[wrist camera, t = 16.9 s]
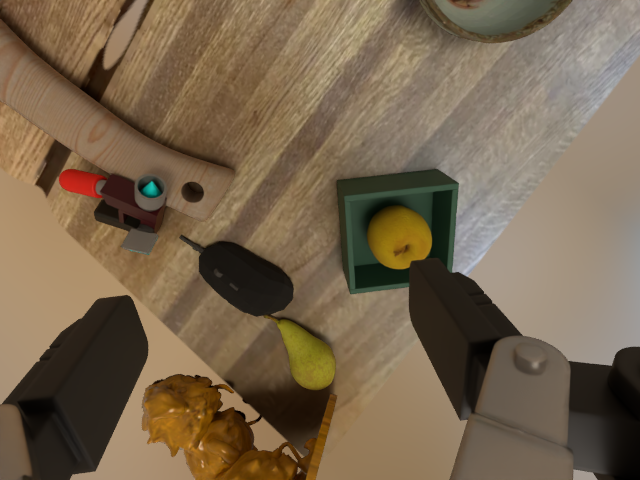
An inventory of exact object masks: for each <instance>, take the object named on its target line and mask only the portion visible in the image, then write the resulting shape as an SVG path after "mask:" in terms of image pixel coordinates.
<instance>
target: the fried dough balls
mask: <svg viewBox="0 0 640 480" xmlns="http://www.w3.org/2000/svg"><path fill="white" fill-rule="evenodd" d="M211 384H212V381H211V380H210V379H209V378H208V377H201V376H199V375H195V376H194V377H193V376H190V375H186V376H185V375H183V374H176V375H173V376H170V377H168V378H166V379H165V380H164V379H161V380H157V381H155V382H154V383H153V384H152V385H149V387H147V388H146V390H145V393H144V397H143V400H142V408H143V411H144V414H143V417H142V430H143V431H146V430H148V432H149V435H150V438H149V440H148V442H147V443H148V444H150V443H152V442H153V443H156V442H162V443H164V444H166V445H167V446H168V448H169V449H170V451H171V456H172V457H173V456H175V455H176V454H177V452H178V450H179V449H180V450H184V454H185V457H186V462H187V465H188V467H189V469H190V471H191V473H192V475H193V477H194V479H195V480H315V479H316V476H317V472H318V468H319V464H320V461H321V457H322V453H323V449H324V446H325V442H326V438H327V434H328V430H329V427H330V423H331V419H332V415H333V411H334V407H335V403H336V399H337V395H334V394H330V397H329V400H328V403H327V407H326V410H325V414H324V417H323V421H322V424H321V428H320V431H319V435H318V438H312V439H309V440H308V441H306V443H305V445H304V448H306V449H308V450H309V454H308V455H307V456H305V457H304V458H301V457H300V456H299V454H298V453H297V451H296V450H295V448H294V447H293V445H292V444H290V443H289V442H285V443H283V444H282V445H281V446H280V447H279V448H277V449H276V450H274V451H273V452H270V451H265V450H262V451H258V449H257V448H256V447H255V446H254V445H253V443H254V435H253V432H252V429H251V428H250V425H252V424H255V423H257V422H259V421H260V419H261V418H262V417H261V416H259V417H258V419H256V420H254V421H251V422H248V423H247V422H245V420H246V416H245V414H244V413H243V412H241V411H238V410H234V407H232V408H229V409H227V410H225V411H222V412H221V411H218V410H219V409H220V408H221V406H222V405H223V403H222V402H221V401H220V398H221V393H220V392H218V389H225V390H227V391H229V392H230V393H234V391H233V390H231V389H230V388H229V387H228V386H227V385H225V384H219V385H215V386H213V385H211ZM242 401H243V402H244V403H246V404H248V403H247V402H246V401H245V400H243V399H242ZM286 446H288V447H289V448H290V450H291V451H292V453H293V454H294V456H295V457H296V459H297V460H298V462H296V461H295V460H293V459H292V458H291V457H290V456H289V455H285V453H282V449H283V448H284V447H286ZM298 467H299V468H300V469H301V471H300V472H299V473H298V474H297V470H298Z"/></svg>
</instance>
